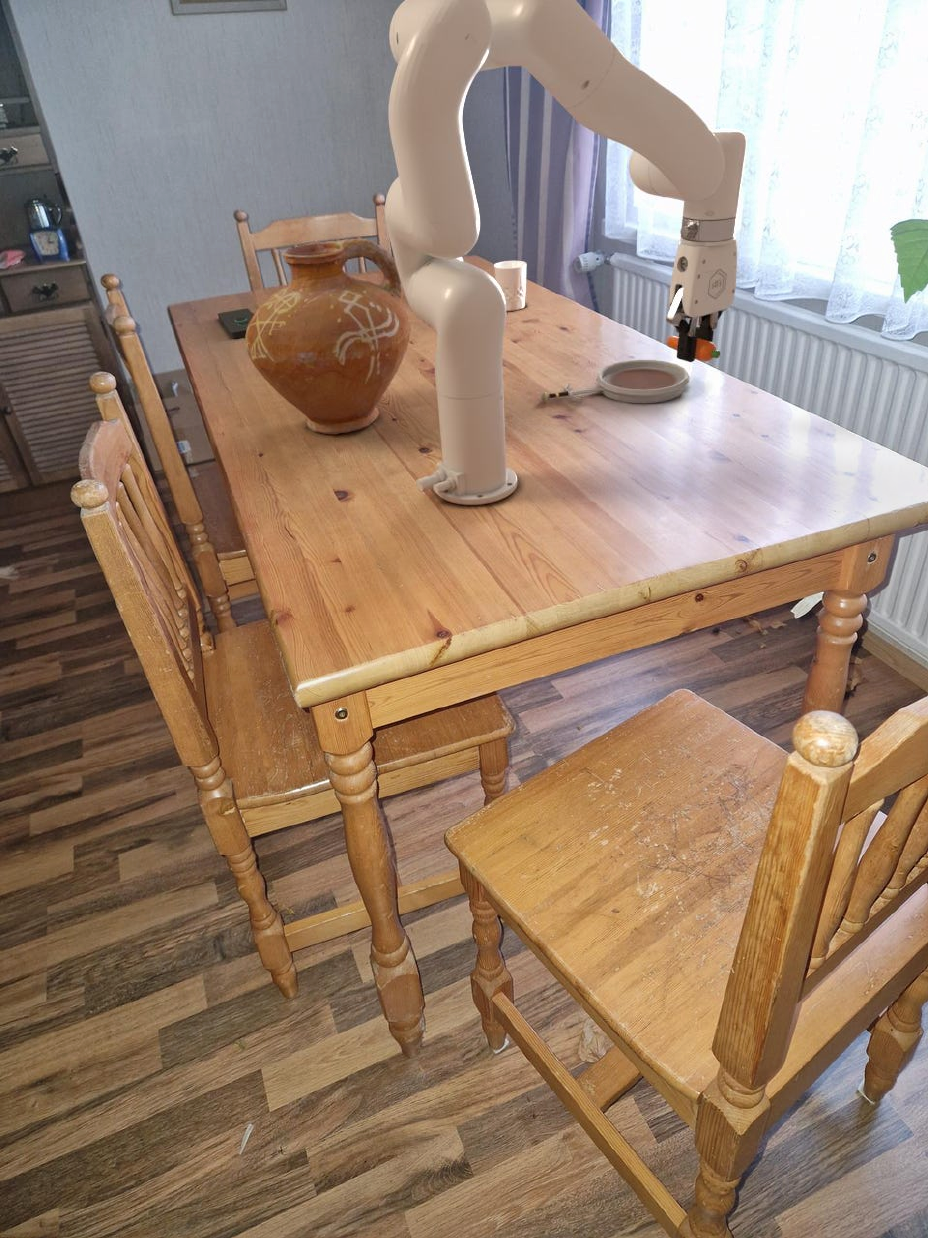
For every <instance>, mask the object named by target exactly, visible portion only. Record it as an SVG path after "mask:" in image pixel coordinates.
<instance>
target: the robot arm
mask: <svg viewBox="0 0 928 1238" xmlns="http://www.w3.org/2000/svg"><path fill="white" fill-rule="evenodd" d="M388 36H389V37H388V38H389V39H388V40H389V46H390V51H391V53H392V57H393V59H394V61H395V63H396V64H397V67H396V70H395V73H394V76H393V79H392V83H391V88H390V92H389V98H388V113H387V115H388V128H389V134H390V141H391V145H392V150H393V154H394V155H393V156H394V159H395V164H396V170H397V173H398V174H397V175H398V176H397V177H396V178H395V179H394V181H392V183H391V185H390V187H389V189H388V192H387V194H386V198H385V204H384V218H385V227H386V230H387V235H388V239H389V242H390V245H391V250H392V254H393V258H394V259H395V261H396V264H397V268H398V272H399V275H400V279H401V287H402V290H403V293H404V295H405V298H406V300H407V303H408V305H409V307H410V309H411V311H412V312H413V313H414V314H415V316H416V317H417V318H418V319H420V320H421V321H422V322H423V323H425V324H426V325H428V326H429V327H431V328H432V329H433V330H434V331H435V333H436V347H435V354H434V355H435V356H434V382H435V391H436V400H437V401H436V402H437V413H438V424H439V435H440V437H439V438H440V447H441V458H442V461H438V462H436V470H434V471H433V472H432V474H430V475H426V476H423V477H421V478H418V479H416V480H415V486H416V489H417V490H418V492H420V493H423V492H426V491H429V490H431V489H433V492H434V493H435V494H437V496H438V497H439V498H441V499H443V500H445V501H447V502H450V503H452V504H457V505H464V506H477V505H478V506H479V505H486V504H492V503H495V502H498V501H502V500H503V499H505V498H507V497H509V496H510V495H511V494H513V493H514V492H515V491H516V489H517V487H518V476H517V473H516V472H515V471H514V470H513V469H511V468H510V467H509V466H507V443H506V442H507V441H506V420H505V419H506V417H505V416H506V415H505V393H504V391H505V390H504V372H503V371H504V370H503V369H504V368H503V367H504V365H503V364H504V363H503V359H504V357H503V356H504V355H503V354H504V339H505V331H506V325H507V314H508V313H507V311H506V301H505V297H504V294H503V292H502V290H501V288H500V286H499V284H498V283H497V282H496V281H495V277H494V276H492V275H491V274H489V272H486V271H485V270H484V269H482V268H480V267H478V266H475V265H473V264H471V263H468V262H466V261H464V259H463V257H464V256H465V255H467V254H468V253H470V252H471V251H472V249H473V248H474V246H475V245H476V244H477V242H478V239H479V235H480V230H481V216H480V210H479V204H478V201H477V196H476V192H475V186H474V182H473V177H472V173H471V168H470V164H469V163H470V162H469V159H468V153H467V149H466V142H465V135H464V127H463V111H464V104H465V101H466V96H467V94H468V91H469V89H470V87H471V85H472V82H473V81H474V79H475V77H476V76H477V74H478V73H479V72H484V71H485V72H486V71H489V70H494V69H499V68H504V67H522V68H524V69H525V70H526V71H528V73H529V74H531V75H532V76H533V77H534V79H535V80H537V82H538V83H539V84H541V85H542V87H543V88H544V89H545V90H546V91H547V92H548V93H549V94H550V95H551V96H552V97H553V98H554V99H555V100H556V101H557V102H558V103H559V104H560V105H561V106H562V107H563V108H564V109H565V110H566V112H568V113H569V115H571V117H573V119H574V120H576V122H577V123H578V124H580V125H581V126H583V127H584V128H586V129H587V130H589V131H591V132H593V133H594V134H596V135H599V137H603V138H606V139H608V140H611V141H613V142H616V143H618V144H621V145H623V146H625V147H627V148H629V149H631V150H632V152H631V154H630V157H629V160H628V161H629V162H628V173H629V176H630V180H631V181H632V183H633V184H634V185H635V187H636V188H637V189H639V191H642V192H644V193H646V194H649V195H653V196H656V197H662V198H668V199H673V200H677V201H681V202H682V201H683V209H682V220H681V228H680V242H678V246H677V249H676V254H675V257H674V258H675V259H674V263H673V268H672V274H671V280H670V288H669V295H668V296H669V297H668V307H669V311H668V312H667V316H666V318H665V322H667V323H669V324H670V325H671V326H674V328H675V329H676V330H675V332H676V334H678V337H679V338H678V347H677V349H676V358H677V359H678V360H682V361H683V362H684V361H685V362H688V363H693V362H695V361H696V359H695V352H696V345H697V338H699V339H702V340H706V341H710V342H712V343H713V341H714V333H715V331H714V330H716V329H717V328H718V323H719V322H718V321H719V319H720V318H721V316H722V315H723V313H725V311H726V310H727V309H728V308H730V307H731V306H732V305H733V304H734V301H735V296H736V287H737V286H736V285H737V277H738V276H737V275H738V240H737V237H736V236H735V234H736V229H737V228H736V227H737V220H738V211H739V204H740V198H741V191H742V182H743V176H744V175H743V174H744V167H745V159H746V152H747V143H748V141H747V137H746V134H745V133H744V132H743V131H741V130H739V129H731V128H720V129H719V128H717V129H710V127H709V126H708V125H707V123H705V121H704V120H703V119H702V118H701V117H700V116H699V114H697V113H696V111H695V110H694V109H692V107H691V106H690V105H688V104H687V103H686V102H685V101H684V100H682V99H681V98H680V97H679V96H678V95H676V94H675V93H674V92H672V91H671V90H669V89H667V87H665V86H664V85H662V84H660V83H659V82H658V81H657V80H656V79H655V78H653V77H652V76H650V75H649V74H648V73H646V72H644V71H643V70H642V69H641V68H639V67H637V66H636V65H634V64H633V63H632V62H631V61H630V60H629V59H628V58H627V57H625V55H624V54H623V53H622V52H621V51H620V50H619V48H618V47H617V46H616V45H615V44H614V42H613V41H612V40H611V39H610V38H609V37H608V36H607V35H606V34H605V33H604V31H603V30H602V29H601V27H599V25H598V24H597V23H596V22H595V21H594V20H593V19H592V17H591V16H590V15H589V14H588V13H587V11H586V10H585V9H584V8H583V7H582V6H581V4H580V3H579V2H578V1H577V0H403V2H401V3H400V5H399V6H398V7H397V8H396V10H395V12H394V14H393V16H392V18H391V22H390V25H389V34H388ZM687 319H689V320H688V321H687ZM697 324H698V326H697Z"/></svg>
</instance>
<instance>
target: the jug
mask: <svg viewBox="0 0 928 1238" xmlns="http://www.w3.org/2000/svg"><path fill="white" fill-rule="evenodd" d="M281 256H282V257H283V259H284V260H283V261H284V262H285V263H286V264H287V265H288V267H289V269H290V275H291V278H290V283H288V285H286V286H285V287H282V288H281V289H279V290H277V291H275V292H274V293H272V295H270V296H269V297H267V298H266V300H265V301H264V302H262V303H261V304H260V305H259V306H258V308H257V309H256V311H255V313H253V315H254V316H253V317H252V319H251V320H250V322H249V324H248V327H247V330H246V337H244V341H245V348H246V352H247V355H248V357H249V359H250V361H251V362H252V364H253V366H254V368H255V369H256V370H257V371H258V373H259V374H260V376H262V378H263V379H264V380H265V381H266V382H267V383H268V384H269V385H270V387H272V388H273V389H274V390H275V391H276V393H278V394H279V396H281V397H282V398H284V400H286V401H287V402H288V403H289V404H291V405H292V406H293V407H294V408H295V409H297V410H298V411H300V412H301V413H302V414H303V415H304V416H305V417H307V418H306V425H307V427H308V428H309V430H311V431H312V432H315V433H319V434H324V435H339V434H347V433H352V432H356V431H357V432H358V431H361V430H364V429H366V428H368V427H369V426H370V425H372V423H373V422H374V421H376V420H377V419H378V417H379V415H380V412H379V410H378V409H377V405H378V404H379V402H380V401H381V399H382V397H383V396H384V394H385V393H386V391H387V390H388V388H389V386H390V384H391V383H392V381H393V379H395V376H396V375H397V373H398V371H399V369H400V367H401V364H402V362H403V360H404V357H405V355H406V353H407V350H408V348H409V347H408V346H409V342H410V337H411V324H410V319H409V316H408V313H407V310H406V305H405V300H404V295H403V287H402V282H401V279H400V275H399V272H398V268H397V264H396V261H395V257H394V256H393V255H392V254H391V253H390V252H389V251H388V250H387V249H386V248H385V247H383V246H382V245H380V244H378V243H376V242H373V241H372V240H369V239H365V238H345V239H343V240H342V239H341V240H331V241H324V242H311V243H306V244H303V245H299V246H295V247H291V248H287V249H284V250H283V251H282V252H281ZM358 258H364V259H366V260H369V261H371V262H373V263H374V265H376V267H377V268H378V269H379V270H380V271H381V273H382V274H383V280H382V282H381V283H380V284H376V283H374V282H373V281H370V280H367V279H363V278H360V277H356V276H351V275H350V274H348V273H347V272H346V271H345V270H344V266H345V264H346V263H347V261H348V260H354V259H358Z"/></svg>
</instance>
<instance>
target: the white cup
mask: <svg viewBox="0 0 928 1238" xmlns="http://www.w3.org/2000/svg"><path fill="white" fill-rule="evenodd" d="M493 272H494V273H493V275H494V279H495V281H496V282H497V283H498V284H499V286H500V288H501V290H502V292H503V294H504V297H505V301H506V312H512V311H519V310H522V309H524V308H525V306H526V304H525V303H526V293H527V292H526V291H527V262H526V261H522V260H504V261H503V260H502V261H499V262H496V263H494V264H493Z"/></svg>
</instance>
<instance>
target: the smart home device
mask: <svg viewBox="0 0 928 1238" xmlns="http://www.w3.org/2000/svg"><path fill="white" fill-rule="evenodd" d="M217 316H218V321H219V323H220V324H221V325H222V326H223V328H224V329H225V331H226V333H227V334H229V336H230V337H231V339H233V340H236V339H242V338H245V337H246V330H247V327H248V324H249V322H250V320H251V319H252V317H253V316H254V313H253V312H252V311H251V310H250V309H249V308H247V307H246V308H241V309H234V310H229V311H223V312H219V313H217Z"/></svg>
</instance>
